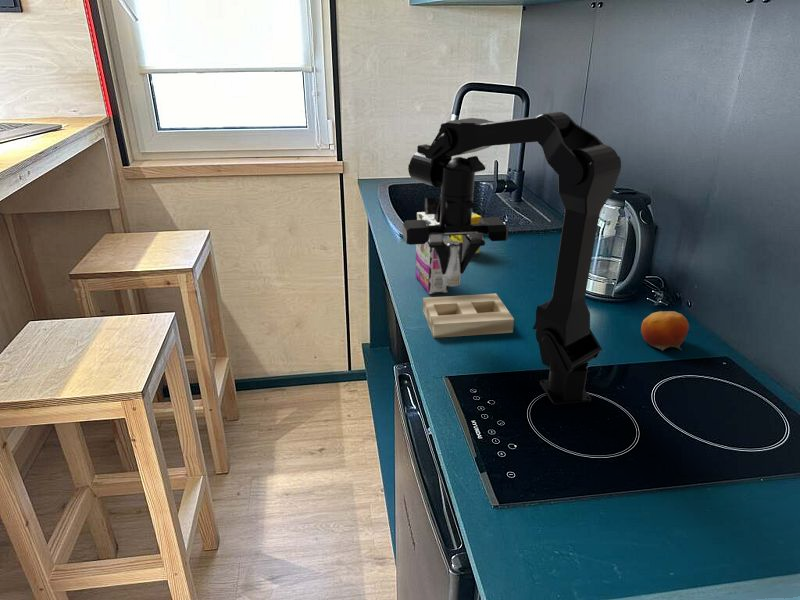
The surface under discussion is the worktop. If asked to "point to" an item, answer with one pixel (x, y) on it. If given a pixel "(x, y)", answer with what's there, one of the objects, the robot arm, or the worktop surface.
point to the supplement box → (459, 238)
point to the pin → (453, 263)
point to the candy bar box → (429, 261)
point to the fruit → (665, 329)
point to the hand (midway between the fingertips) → (452, 273)
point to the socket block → (467, 315)
